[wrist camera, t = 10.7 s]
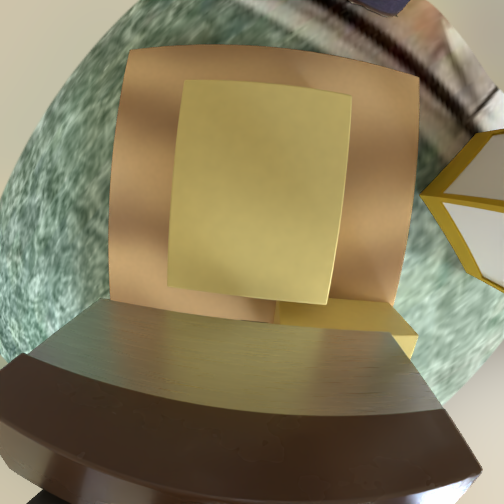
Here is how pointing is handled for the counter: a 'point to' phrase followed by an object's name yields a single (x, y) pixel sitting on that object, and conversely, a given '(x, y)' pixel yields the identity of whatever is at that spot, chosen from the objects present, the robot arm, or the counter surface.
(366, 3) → the flask
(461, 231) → the soap bottle
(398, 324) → the butter pat
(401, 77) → the butter board
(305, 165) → the butter block
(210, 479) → the dough scraper
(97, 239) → the counter surface
